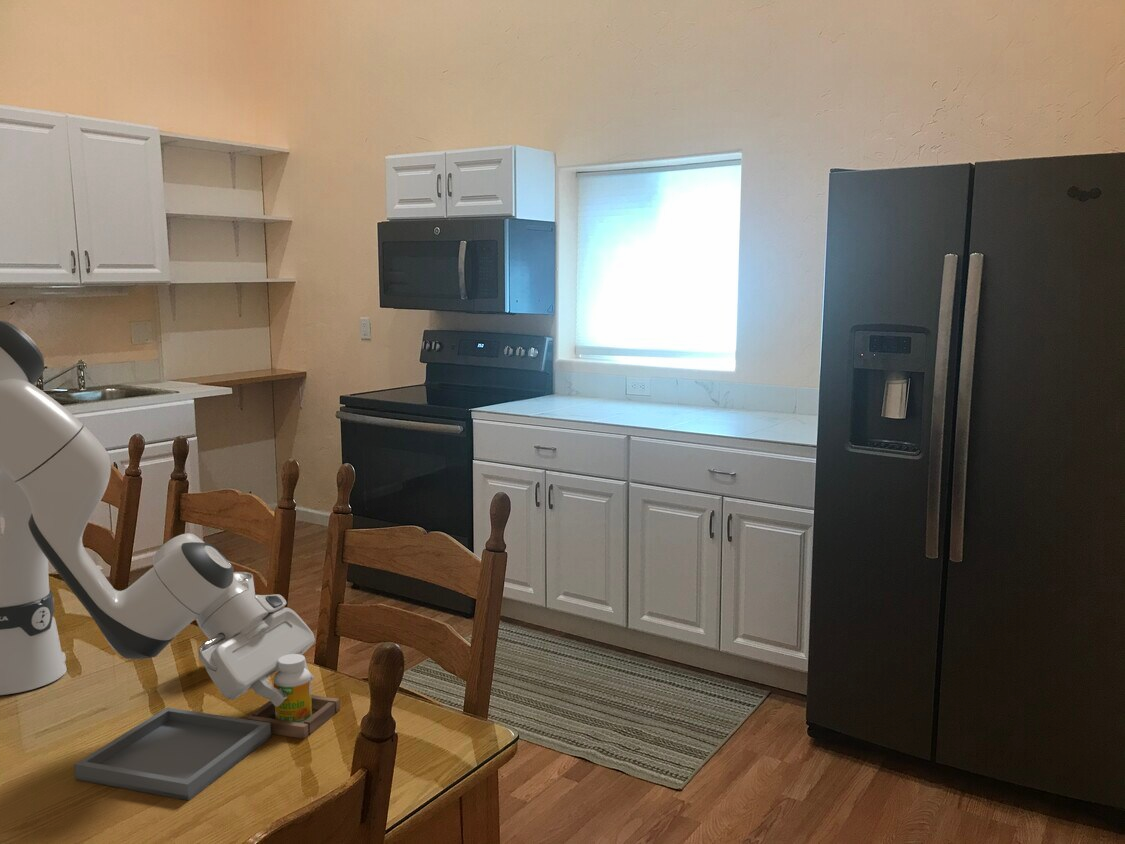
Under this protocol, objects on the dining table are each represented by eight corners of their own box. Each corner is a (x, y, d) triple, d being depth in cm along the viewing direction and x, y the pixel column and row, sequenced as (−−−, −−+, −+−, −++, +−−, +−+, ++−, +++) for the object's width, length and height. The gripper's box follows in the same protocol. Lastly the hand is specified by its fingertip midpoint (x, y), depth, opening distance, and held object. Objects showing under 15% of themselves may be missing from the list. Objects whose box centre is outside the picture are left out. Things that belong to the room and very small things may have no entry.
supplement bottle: (275, 729, 139) (272, 667, 138) (275, 714, 144) (273, 654, 143) (312, 725, 141) (310, 663, 139) (312, 710, 146) (309, 650, 145)
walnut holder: (245, 729, 139) (245, 718, 139) (284, 701, 149) (283, 691, 149) (304, 738, 136) (304, 727, 136) (339, 709, 146) (339, 698, 146)
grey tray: (75, 779, 125) (74, 764, 125) (167, 721, 142) (167, 707, 142) (188, 800, 120) (187, 784, 120) (270, 737, 137) (270, 723, 137)
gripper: (205, 635, 133) (268, 709, 131) (287, 591, 152) (342, 655, 150) (180, 661, 134) (242, 735, 133) (264, 615, 154) (319, 678, 152)
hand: (296, 692), depth 142 cm, fingers open, 6 cm apart
